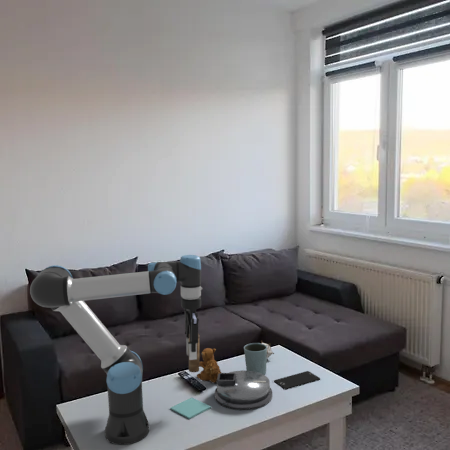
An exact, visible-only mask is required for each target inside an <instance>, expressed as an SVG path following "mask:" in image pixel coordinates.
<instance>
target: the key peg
mask: <svg viewBox="0 0 450 450" xmlns="http://www.w3.org/2000/svg"><path fill="white" fill-rule="evenodd" d="M200 337H201V336H200V333H198V343H197V359H195V360H189V359H188V372H190V373H198V372H199V371H200V366H199V362H200V356H199V355H200ZM189 342H190V334H189Z"/></svg>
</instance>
